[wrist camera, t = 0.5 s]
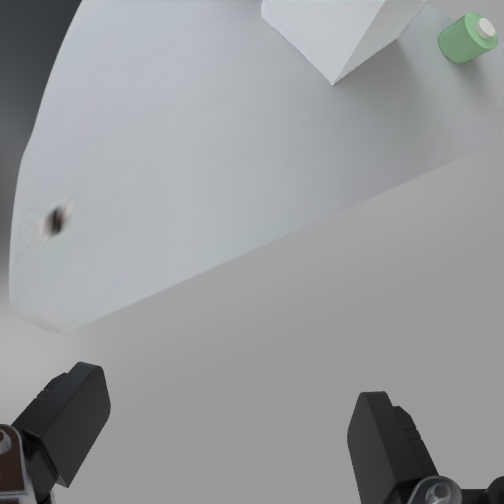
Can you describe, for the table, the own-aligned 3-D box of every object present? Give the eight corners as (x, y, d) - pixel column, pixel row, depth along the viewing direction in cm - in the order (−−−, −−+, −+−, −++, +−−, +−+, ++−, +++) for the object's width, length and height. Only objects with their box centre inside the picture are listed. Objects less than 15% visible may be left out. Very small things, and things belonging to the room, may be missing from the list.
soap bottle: (436, 26, 29) (466, 2, 20) (465, 37, 29) (499, 17, 20) (440, 58, 30) (474, 37, 22) (470, 68, 30) (506, 52, 21)
